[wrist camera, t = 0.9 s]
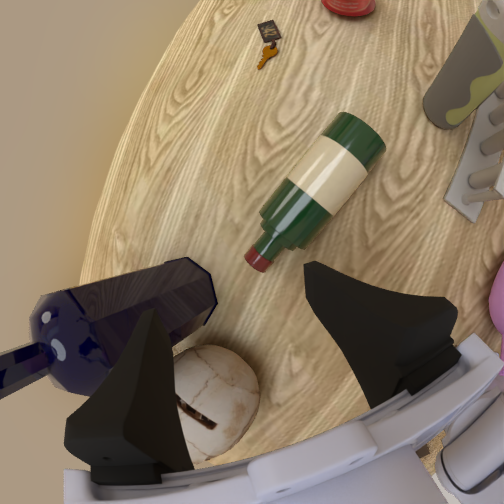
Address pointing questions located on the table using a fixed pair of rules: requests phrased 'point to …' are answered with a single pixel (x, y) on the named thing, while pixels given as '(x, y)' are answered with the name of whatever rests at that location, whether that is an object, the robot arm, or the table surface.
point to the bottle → (105, 324)
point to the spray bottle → (469, 69)
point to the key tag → (268, 34)
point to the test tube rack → (480, 160)
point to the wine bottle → (316, 188)
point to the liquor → (350, 6)
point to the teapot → (498, 307)
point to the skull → (214, 399)
